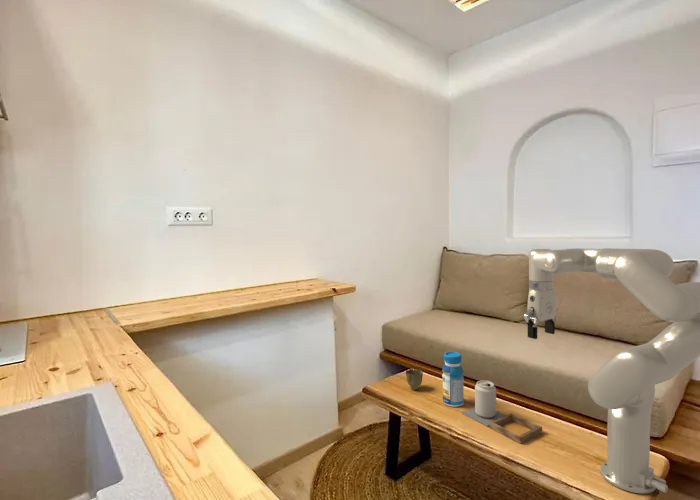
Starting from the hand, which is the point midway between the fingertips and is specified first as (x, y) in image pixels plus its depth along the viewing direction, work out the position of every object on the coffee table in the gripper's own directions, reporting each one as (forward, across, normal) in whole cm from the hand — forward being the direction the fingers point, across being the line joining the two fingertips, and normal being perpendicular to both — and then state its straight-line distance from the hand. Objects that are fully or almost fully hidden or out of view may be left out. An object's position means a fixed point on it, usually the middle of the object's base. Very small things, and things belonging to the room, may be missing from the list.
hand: (541, 335), depth 131 cm
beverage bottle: (+34, -9, +32) cm, 47 cm away
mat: (+33, -7, +18) cm, 38 cm away
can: (+33, -7, +18) cm, 38 cm away
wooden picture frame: (+33, -7, +5) cm, 34 cm away
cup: (+34, -13, +51) cm, 62 cm away
